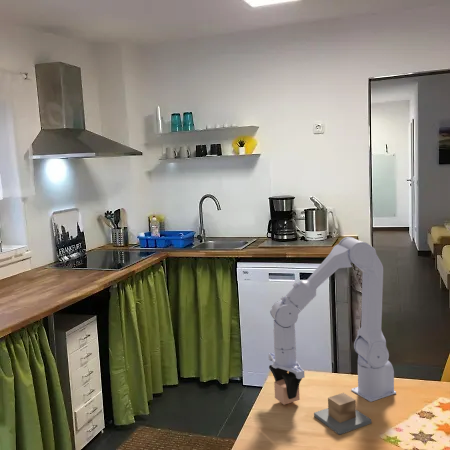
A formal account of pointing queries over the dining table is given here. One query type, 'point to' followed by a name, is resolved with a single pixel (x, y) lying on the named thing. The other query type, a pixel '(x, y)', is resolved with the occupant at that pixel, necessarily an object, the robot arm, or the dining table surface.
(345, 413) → the walnut brick
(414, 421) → the dining table surface
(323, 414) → the base plate
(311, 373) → the dining table surface
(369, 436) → the dining table surface
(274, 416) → the dining table surface
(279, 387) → the pinkish tan block
